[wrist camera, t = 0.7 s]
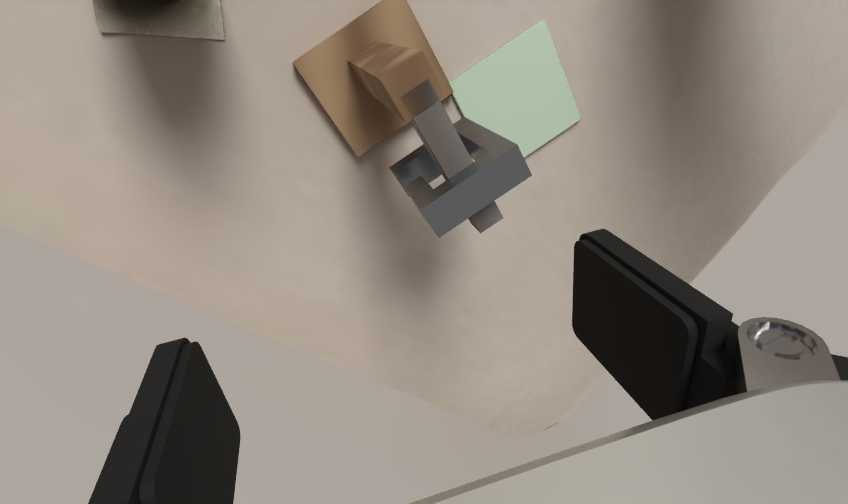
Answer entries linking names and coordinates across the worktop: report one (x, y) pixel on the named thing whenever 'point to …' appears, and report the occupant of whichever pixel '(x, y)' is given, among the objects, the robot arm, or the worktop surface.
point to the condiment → (161, 17)
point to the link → (462, 177)
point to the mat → (519, 91)
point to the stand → (388, 88)
